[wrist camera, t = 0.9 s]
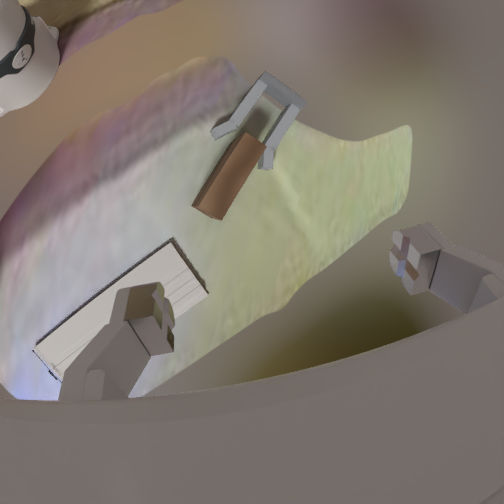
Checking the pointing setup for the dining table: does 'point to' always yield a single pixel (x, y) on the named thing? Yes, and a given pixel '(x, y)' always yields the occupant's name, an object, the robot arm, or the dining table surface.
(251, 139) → the walnut plank
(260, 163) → the grey channel
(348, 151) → the dining table surface
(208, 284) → the dining table surface
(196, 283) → the baseboard molding
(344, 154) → the dining table surface
